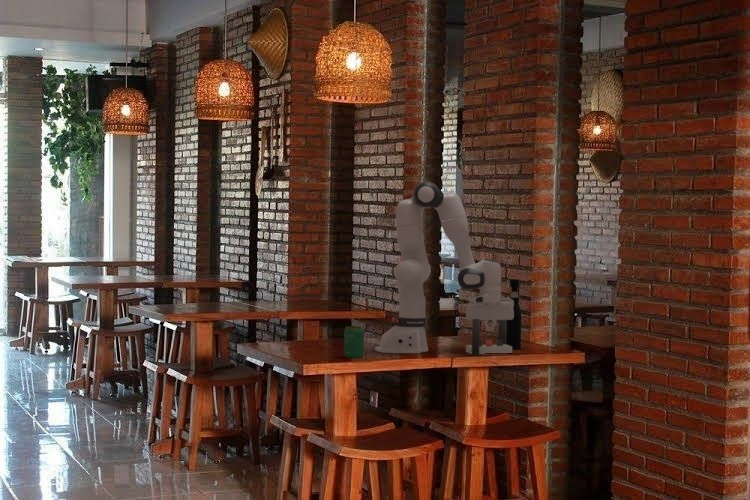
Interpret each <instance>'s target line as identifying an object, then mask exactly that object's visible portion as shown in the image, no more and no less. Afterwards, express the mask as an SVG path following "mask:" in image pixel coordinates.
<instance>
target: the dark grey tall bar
mask: <svg viewBox="0 0 750 500" xmlns="http://www.w3.org/2000/svg"><path fill="white" fill-rule="evenodd" d="M480 321H481V320H480V319H473V320H472V327H471V328H472V331H471V332H472V333H471V345H472V355H479V356H480V354H479V340H480V333H481V332H480V331H481V329H480V328H481V327H480V326H481V322H480ZM472 355H471V356H472Z"/></svg>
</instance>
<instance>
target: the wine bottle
mask: <svg viewBox="0 0 750 500" xmlns="http://www.w3.org/2000/svg"><path fill="white" fill-rule="evenodd" d="M509 282H510V283H509V287H510V288H511V293H510V297H509V298H511V299H513V301H514V307H513V310H514V318H513V319H512V320H506V336H505V345H509V346H512V349H519V350H521V347H522V341H521V339H522V310H521V308H520V304H519V302H520V301H519V300H520V299H519V293H518V291H519V290H518V288H520V279H512V278H511V279H510V281H509Z"/></svg>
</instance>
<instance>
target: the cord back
mask: <svg viewBox="0 0 750 500" xmlns="http://www.w3.org/2000/svg"><path fill="white" fill-rule="evenodd" d="M497 340H503V345H506V320H498V339H497Z"/></svg>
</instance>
